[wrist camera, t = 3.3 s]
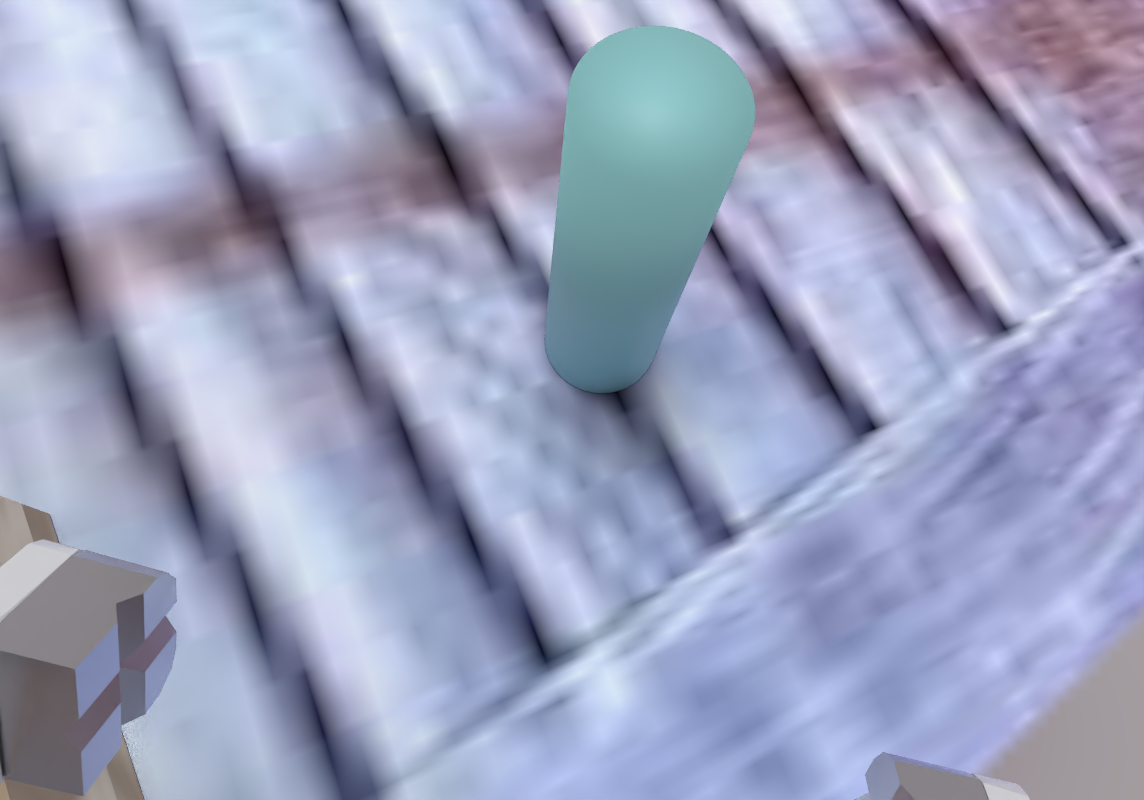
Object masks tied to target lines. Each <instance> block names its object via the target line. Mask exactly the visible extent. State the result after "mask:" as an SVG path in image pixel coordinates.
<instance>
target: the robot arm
mask: <svg viewBox="0 0 1144 800" xmlns="http://www.w3.org/2000/svg"><path fill="white" fill-rule="evenodd" d="M176 602H177V599H176V578H174V577H173V576H171V575H170V574H169V573H166V572H163V571H159V570H155V569H152V568H148V567H145V566H141V565H137V564H134V563H130V562H127V561H123V560H119V559H116V558H112V557H109V556H105V555H101V554H98V553H94V552H91V551H87V550H85V551H83V550H79V549H76V548H72V547H69V546H65V545H62V544H58V543H55V542H51V541H48V540H44V539H42V540H39V541H36V542H32V543H29V544H27V545H26V546H25V547H23V548H22V549H21V550H20V551H19V552H18V553H16V554H15V555H14V556H13V557H12V558H10V559H9V560H8V561H7V562H6V563H4V564H3V565H2V566H1V567H0V785H1V784H2V783H3V779H7V780H12V781H16V782H21V783H25V784H30V785H34V786H38V787H43V788H47V789H52V790H56V791H61V792H65V793H70V794H74V795H79V796H83V797H84V795H85V794H86V793H87V791H88V790H89V789H90V787H91V786H92V785H93V783H94V782H95V781H96V779H97V778H98V777H99V775H100V774H101V773H102V771H103V770H104V769H105V767H106V766H107V765H108V763H109V762H110V761H111V759H112V758H113V757H114V755H115V754H116V753H117V751H118V750H119V749H120V747H121V746H122V739H121V725H123V724H125V723H127V722H130V721H132V720H134V719H136V718H138V717H140V716H142V715H144V714H146V712H147V711H148V709H149V708H150V707H151V705H152V704H153V702H154V701H155V700H156V698H157V697H158V695H159V694H160V692H161V690H162V688H163V686H164V683H165V681H166V679H167V677H168V675H169V673H170V670H171V668H172V664H173V659H174V655H175V650H176V630H175V629H174V627H173V626H172V625H171V623H170V622H169V620H168V619H167V618H166V616H165V615H166V614H167V613H168V611H169V610H170V609H171V608H172V606H173V605H174V604H175V603H176ZM865 776H866V781H867V785H868V790H869V793H867V794H865V795H863V796H861V797H859V798H857V799H855V800H1029V797H1028V795H1027V794H1026V792H1025V791H1024V790H1022V788H1021V787H1020V786H1019V785H1018V784H1015V783H1011V782H1006V781H1001V780H998V779H994V778H989V777H985V776H981V775H977V774H968V773H966V772H963V771H959V770H955V769H951V768H946V767H942V766H938V765H934V764H930V763H926V762H922V761H917V760H913V759H909V758H905V757H901V756H897V755H893V754H888V753H884V752H883V753H881V754H880V755H879V756H877V757H876V758H875V759H874V760H873V762H872V763H871V765H870V767H869V769H868V771H867V772H866V774H865Z"/></svg>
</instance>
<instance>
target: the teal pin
mask: <svg viewBox="0 0 1144 800" xmlns="http://www.w3.org/2000/svg"><path fill="white" fill-rule="evenodd" d="M754 122H755V103H754V98H753V94H752V90H751V88H750V85H749V82H748V80H747V78H746V77H745V75H744V73H743V71H742V70H741V69H740V67H739V66H738V65H737V63H736V62H735V61H734V60H733V59H732V58H731V57H730V56H729V55H728V54H727V53H726V52H725V51H723V50H722V49H721V48H720V47H718V46H717V45H715V44H714V43H712V42H711V41H709V40H707V39H705V38H703V37H701V36H699V35H696V34H694V33H691V32H689V31H685V30H681V29H677V28H672V27H665V26H643V27H636V28H630V29H627V30H623V31H620V32H617V33H615V34H613V35H610V36H608V37H606V38H605V39H603V40H601V41H600V42H598V43H597V44H596V45H594V46H593V47H592V48H591V49H590V50H589V51H588V52H587V53H586V54H585V55H584V56H583V57H582V59H581V60H580V61H579V63H578V64H577V66H576V68H575V70H574V72H573V74H572V77H571V80H570V83H569V89H568V97H567V107H566V118H565V128H564V138H563V149H562V159H561V170H560V180H559V191H558V201H557V212H556V222H555V233H554V243H553V254H552V264H551V275H550V285H549V296H548V306H547V317H546V327H545V349H546V353H547V356H548V359H549V361H550V363H551V365H552V366H553V368H554V370H555V371H556V372H557V373H558V374H559V375H560V376H561V377H562V378H563V379H564V380H565V381H566V382H568V383H569V384H571V385H573V386H574V387H576V388H579V389H581V390H584V391H588V392H593V393H612V392H616V391H620V390H623V389H625V388H627V387H629V386H631V385H633V384H634V383H635V382H637V381H638V380H639V379H640V378H641V377H642V376H643V375H644V374H645V373H646V371H647V370H648V368H649V367H650V365H651V363H652V360H653V358H654V356H655V354H656V351H657V349H658V347H659V344H660V342H661V340H662V338H663V335H664V333H665V331H666V329H667V326H668V324H669V322H670V319H671V317H672V315H673V313H674V310H675V308H676V306H677V303H678V301H679V299H680V297H681V294H682V292H683V290H684V287H685V285H686V283H687V281H688V278H689V276H690V274H691V272H692V269H693V267H694V265H695V262H696V260H697V258H698V256H699V253H700V251H701V249H702V246H703V244H704V242H705V240H706V237H707V235H708V233H709V230H710V228H711V226H712V224H713V221H714V219H715V217H716V214H717V212H718V210H719V208H720V205H721V203H722V201H723V199H724V196H725V194H726V192H727V189H728V187H729V185H730V183H731V180H732V178H733V176H734V173H735V171H736V169H737V167H738V164H739V162H740V160H741V157H742V155H743V153H744V151H745V148H746V146H747V144H748V141H749V139H750V136H751V134H752V131H753V127H754Z"/></svg>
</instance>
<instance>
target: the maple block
mask: <svg viewBox="0 0 1144 800" xmlns="http://www.w3.org/2000/svg"><path fill="white" fill-rule="evenodd" d="M42 539H44V540H48V541H51V542H55V543H58V544H59V542H58V539H57V536H56V532H55V529H54V526H53V523H52V520H51V517H50V514H48V513H45V512H42V511H40V510H37V509H34V508H31V507H29V506H26V505H23V504H20V503H18V502H15V501H12V500H9V499H7V498H4V497H1V496H0V567H1V566H2V565H3V564H4V563H6V562H7V561H8V560H9V559H10V558H12V557H13V556H14V555H15V554H16V553H18V552H19V551H20V550H21V549H22V548H23V547H25V546H26V545H27V544H29V543H32V542H36V541H39V540H42ZM121 739H122V746H121V747H120V749H119V750H118V751H117V753H116V754H115V755H114V757H113V758H112V759H111V761H110V762H109V763H108V765H107V766H106V767H105V769H104V770H103V771H102V773H101V774H100V775H99V777H98V778H97V779H96V781H95V782H94V783H93V785H92V786H91V787H90V789H89V790H88V791H87V793H86V794H85V795H84V797H83V796H79V795H74V794H70V793H65V792H61V791H56V790H52V789H47V788H43V787H38V786H34V785H30V784H25V783H21V782H16V781H12V780H7V779H3V783H2V784H1V785H0V800H144V798H143V795H142V792H141V789H140V786H139V783H138V780H137V777H136V774H135V770H134V767H133V764H132V761H131V758H130V755H129V752H128V749H127V746H126V743H125V740H124V737H123V734H122V731H121Z"/></svg>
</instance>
